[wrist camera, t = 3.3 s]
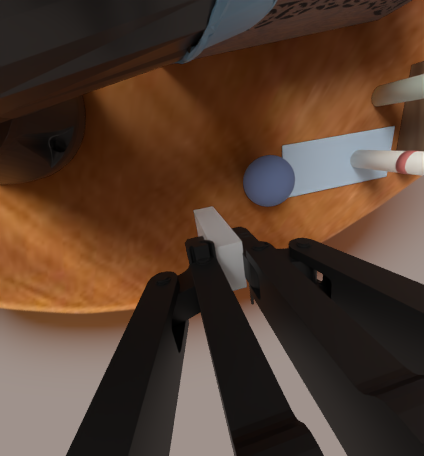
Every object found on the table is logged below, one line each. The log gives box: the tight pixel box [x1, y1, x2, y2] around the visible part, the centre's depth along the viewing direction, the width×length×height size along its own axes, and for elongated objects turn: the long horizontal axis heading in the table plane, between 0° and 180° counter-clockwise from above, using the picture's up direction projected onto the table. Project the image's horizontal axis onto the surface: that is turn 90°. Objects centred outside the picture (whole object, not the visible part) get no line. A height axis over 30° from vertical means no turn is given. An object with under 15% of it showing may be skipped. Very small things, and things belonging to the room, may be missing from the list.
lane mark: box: [282, 126, 395, 197], centre depth 30 cm, size 17×7×1 cm, turn 99°
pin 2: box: [350, 150, 424, 176], centre depth 27 cm, size 2×2×9 cm
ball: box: [243, 155, 295, 207], centre depth 26 cm, size 6×6×6 cm
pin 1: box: [372, 74, 424, 106], centre depth 24 cm, size 2×2×9 cm
